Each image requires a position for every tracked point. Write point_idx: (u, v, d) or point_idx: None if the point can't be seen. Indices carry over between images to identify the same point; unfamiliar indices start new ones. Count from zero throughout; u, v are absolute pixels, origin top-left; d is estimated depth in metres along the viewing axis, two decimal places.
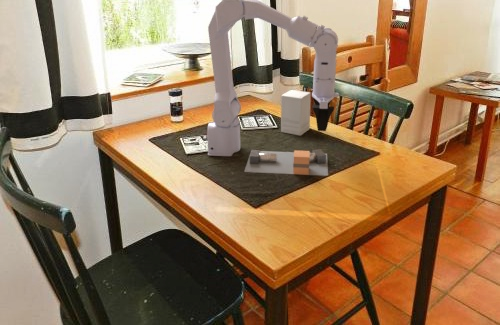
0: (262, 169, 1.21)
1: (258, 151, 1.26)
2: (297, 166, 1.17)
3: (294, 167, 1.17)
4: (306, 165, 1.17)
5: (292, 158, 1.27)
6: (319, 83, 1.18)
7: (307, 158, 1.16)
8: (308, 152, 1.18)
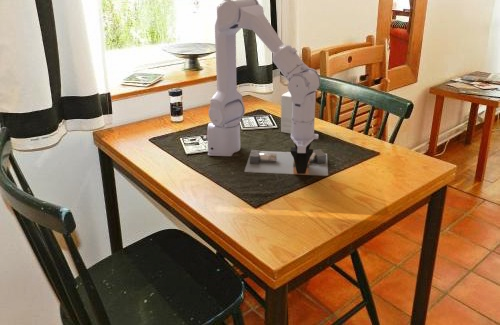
0: (262, 169, 1.21)
1: (258, 151, 1.26)
2: None
3: (294, 167, 1.17)
4: None
5: (292, 158, 1.27)
6: (297, 125, 1.12)
7: None
8: None
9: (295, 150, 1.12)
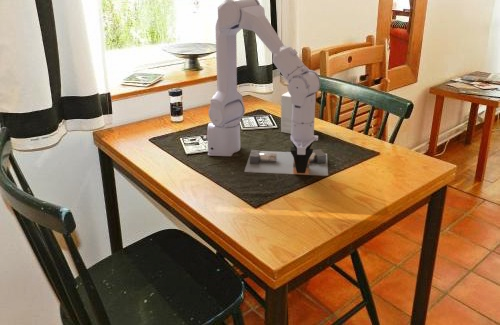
0: (262, 169, 1.21)
1: (258, 151, 1.26)
2: None
3: (294, 167, 1.17)
4: None
5: (292, 158, 1.27)
6: (297, 127, 1.12)
7: None
8: None
9: (295, 150, 1.13)
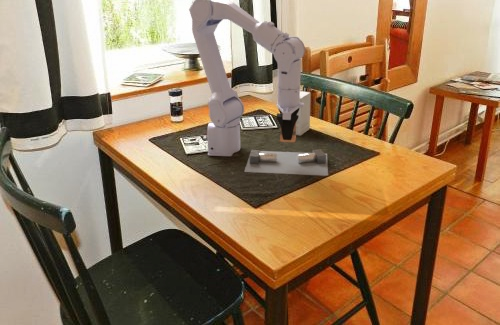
0: (262, 169, 1.21)
1: (258, 151, 1.26)
2: None
3: (281, 134, 1.19)
4: (293, 132, 1.19)
5: (292, 158, 1.27)
6: (283, 93, 1.14)
7: None
8: None
9: (281, 116, 1.15)
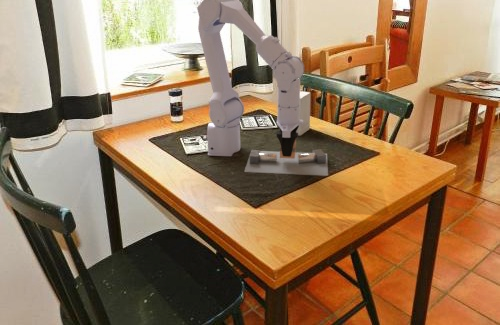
0: (262, 169, 1.21)
1: (258, 151, 1.26)
2: None
3: (281, 151, 1.21)
4: (292, 149, 1.21)
5: (292, 158, 1.27)
6: (282, 111, 1.16)
7: None
8: None
9: (281, 133, 1.17)
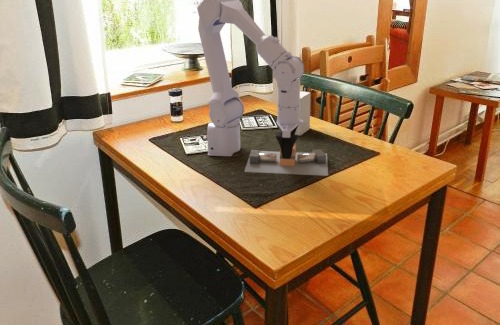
0: (262, 169, 1.21)
1: (258, 151, 1.26)
2: None
3: (281, 158, 1.22)
4: (292, 157, 1.22)
5: None
6: (282, 111, 1.16)
7: (293, 150, 1.21)
8: (294, 144, 1.23)
9: (280, 135, 1.16)
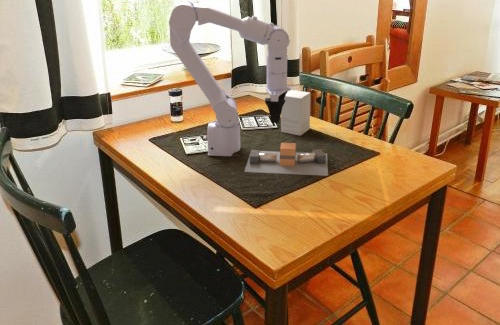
0: (262, 169, 1.21)
1: (258, 151, 1.26)
2: (283, 157, 1.22)
3: (281, 158, 1.22)
4: (292, 157, 1.22)
5: None
6: (271, 77, 1.24)
7: (293, 150, 1.21)
8: (294, 144, 1.23)
9: (269, 100, 1.23)
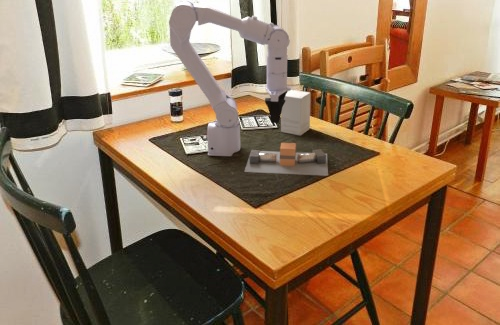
0: (262, 169, 1.21)
1: (258, 151, 1.26)
2: (283, 157, 1.22)
3: (281, 158, 1.22)
4: (292, 157, 1.22)
5: None
6: (271, 77, 1.24)
7: (293, 150, 1.21)
8: (294, 144, 1.23)
9: (269, 100, 1.23)
